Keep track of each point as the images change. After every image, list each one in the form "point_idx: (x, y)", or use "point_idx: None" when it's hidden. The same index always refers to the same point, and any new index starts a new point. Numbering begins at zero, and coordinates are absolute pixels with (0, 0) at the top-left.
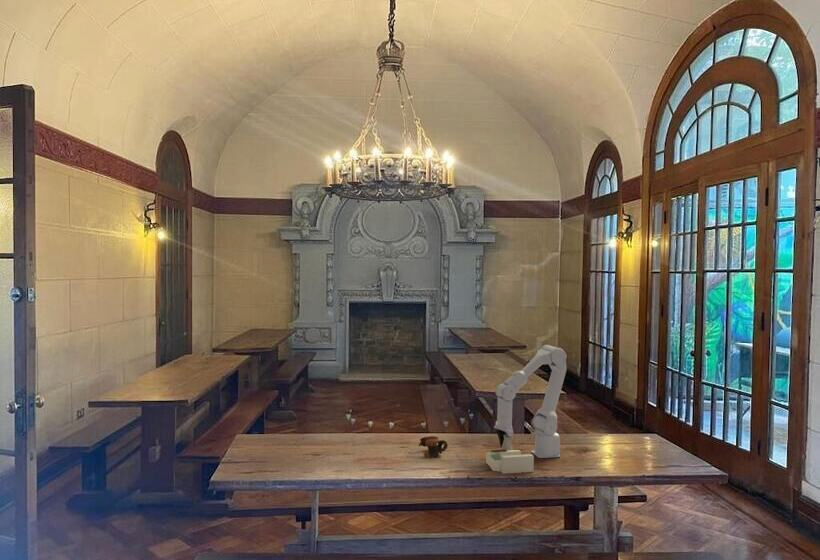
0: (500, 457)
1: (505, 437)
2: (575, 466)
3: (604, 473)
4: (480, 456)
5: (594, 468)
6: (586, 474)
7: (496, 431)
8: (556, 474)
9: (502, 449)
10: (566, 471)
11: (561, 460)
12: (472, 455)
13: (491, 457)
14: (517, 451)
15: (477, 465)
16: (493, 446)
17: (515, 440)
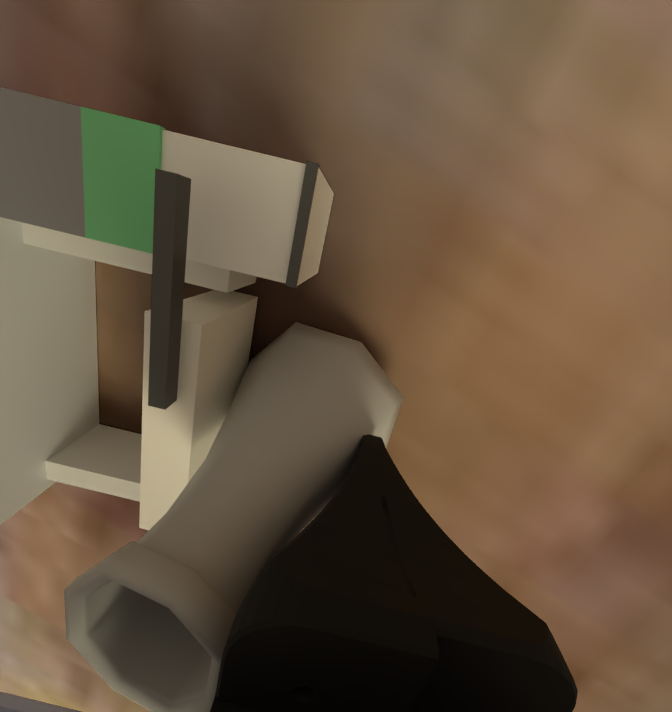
0: (32, 222)
1: (97, 566)
2: None
3: (15, 689)
4: (524, 250)
5: (79, 697)
6: (5, 633)
7: (505, 639)
8: (12, 525)
9: (261, 401)
10: (53, 590)
11: None
12: (602, 180)
13: (93, 114)
14: (140, 499)
15: (309, 53)
16: (663, 503)
17: (649, 681)
